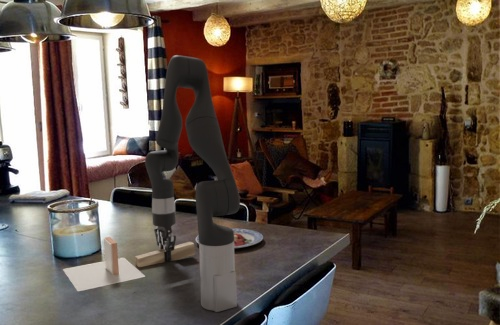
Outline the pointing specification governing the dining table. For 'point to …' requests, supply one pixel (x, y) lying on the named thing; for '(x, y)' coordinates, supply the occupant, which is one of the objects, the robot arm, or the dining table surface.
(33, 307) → the dining table surface
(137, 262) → the oak stick
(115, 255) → the tile
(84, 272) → the white panel
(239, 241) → the ceramic plate
